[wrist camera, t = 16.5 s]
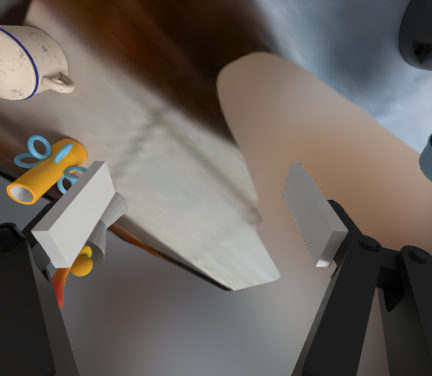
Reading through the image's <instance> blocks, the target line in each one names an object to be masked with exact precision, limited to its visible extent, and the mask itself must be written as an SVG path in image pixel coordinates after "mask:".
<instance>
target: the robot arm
mask: <svg viewBox="0 0 432 376" xmlns="http://www.w3.org/2000/svg"><path fill="white" fill-rule="evenodd" d="M399 45H400V51H401V54H402V56H403V58H404V59H405V61H406V62H407V63H408V64H409V65H411V66H413V67H415V68H418V69H423V70H429V71H432V0H411V2H410V4H409V6H408V8H407V10H406V12H405V15H404V17H403V21H402V24H401V28H400V35H399ZM419 164H420V169H421V171H422V172H423V174H424V175H425V176H426V177H427V178H428V179H429V180H430V181H431V182H432V134H431V135H430V136H429V138H428V143H427V145H426V147H425V148H424V150H423V152H422V153H421V155H420V157H419ZM114 194H115V190H114V187H113V184H112V181H111V177H110V174H109V171H108V168H107V164H106V161H94V162H93V163H92V164H91V166H90V167H89V168H88V169H87V170H86V171H85V172H84V173H83V174H82V175H81V177H80V178H79V179H78V180H77V181H76V182H75V183H74V184H73V185H72V186H71V187H70V189H69V190H68V191H67V192H66V193H65V194H64V195H63V196H62V197H61V198H60V199H55V200H54V201H52V202H50V203H49V204H47V205H46V206H45V207H44V208H43V210H41V212H39V213H38V215H37V216H36V218H34V219H33V220H32V221H31V222H30V223H29V224H28V225H27V226H26V227H25V228H24V229H23V230H22V231H20V230H19V228H18V227H17V226H16V224H15V223H2V224H0V376H79V373H78V369H77V366H76V362H75V359H74V356H73V353H72V349H71V345H70V342H69V339H68V335H67V332H66V328H65V325H64V322H63V318H62V315H61V311H60V308H59V304H58V301H57V298H56V294H55V291H54V287H53V284H52V280H51V278H50V274H49V271H48V269H47V268H46V267H47V265H48V264H49V262H50V261H51V262H52V264H53V265H54V267H55V268H70V267H71V266H72V264H73V262H74V261H75V259H76V257H77V256H78V254H79V252H80V251H81V249H82V247H83V246H84V244H85V242H86V241H87V239H88V237H89V236H90V234H91V232H92V231H93V229H94V227H95V226H96V224H97V222H98V221H99V219H100V217H101V216H102V214H103V212H104V211H105V209H106V207H107V206H108V204H109V202H110V201H111V199H112V197H113V196H114ZM283 195H284V197H285V199H286V202H287V204H288V206H289V208H290V211H291V213H292V215H293V217H294V220H295V222H296V224H297V226H298V228H299V230H300V233H301V235H302V237H303V239H304V242H305V244H306V246H307V248H308V250H309V253H310V255H311V257H312V259H313V261H314V264H315V266H316V267H330V265H331V263H332V261H333V260H334V261H335V263H336V265H337V267H336V269H335V270H334V272H333V274H332V276H331V280H330V283H329V285H328V288H327V290H326V293H325V295H324V297H323V300H322V302H321V305H320V307H319V310H318V312H317V314H316V317H315V319H314V322H313V324H312V326H311V329H310V331H309V334H308V336H307V339H306V341H305V343H304V346H303V348H302V351H301V353H300V356H299V358H298V360H297V363H296V365H295V368H294V370H293V373H292V375H291V376H356V375H357V370H358V365H359V361H360V356H361V352H362V347H363V343H364V338H365V333H366V329H367V324H368V320H369V315H370V311H371V306H372V302H373V297H374V292H375V288H376V287H377V289H378V296H379V303H380V310H381V317H382V324H383V331H384V338H385V345H386V352H387V359H388V366H389V373H390V376H432V256H431V255H430V254H429V253H427V252H426V251H424V250H422V249H420V248H418V247H415V246H410V245H408V246H404V247H402V248H401V250H400V251H396V250H392V249H387V248H383V247H382V246H381V244H380V243H379V242H377V241H376V240H375V239H373V238H371V237H369V236H366V235H363V234H362V233H361V231H360V230H359V229H358V227H357V226H356V225H355V224H354V222H353V221H352V220H351V218H349V216H348V214H347V213H345V210H344V209H343V208H342V207H341V205H340V204H338V203H337V202H335V201H334V200H326V198H325V197H324V195H323V194H322V193H321V191H320V190H319V188H318V187H317V185H316V184H315V183H314V181H313V180H312V178H311V177H310V175H309V174H308V173H307V171H306V170H305V168H304V167H303V165H302V164H301V163H290V167H289V171H288V175H287V179H286V183H285V187H284V191H283Z"/></svg>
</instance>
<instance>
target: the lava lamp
mask: <svg viewBox="0 0 432 376" xmlns="http://www.w3.org/2000/svg"><path fill="white" fill-rule="evenodd" d="M126 210H127V202H126V200H125V199H124V197H122V196H121V195H120V194H119V193H117V192H115V194H114V196H113V197H112V199H111V201H110V202H109V204H108V206H107V207H106V209H105V211H104V212H103V214H102V216H101V217H100V219H99V221H98V222H97V224H96V226H95V227H94V229H93V231H92V232H91V234H90V236H89V237H88V239H87V241H86V242H85V244H84V246H83V247H82V249H81V251H80V252H79V254H78V256H77V257H76V259H75V261H74V262H73V264H72V266H71V267H70V268H58V269H57V271H56V273H55V274H54V276H53V277H52V278H51V280H52V284H53V287H54V291H55V294H56V298H57V301H58V304H59V308H60V309H61V307H62V304H63V294H64V285H65V279H66V277H67V275H68V273H69V271H70V270H71V272H72V273H73V274H74V275H76V276H83V275H86V274H87V273H89V272H90V271H91V269H92V267H95V266H97V265H99V264H101V263H102V262H103V260H104V256H105V243H106V229H107V228H108V227H109V226H110V225H111V224H112V223H114V222H115V221H116V220H117V219H118V218H119V217H120V216H121V215H123V214H124V213H125V211H126Z"/></svg>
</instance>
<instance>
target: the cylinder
mask: <svg viewBox="0 0 432 376" xmlns="http://www.w3.org/2000/svg"><path fill="white" fill-rule="evenodd" d="M35 140H40V141H41V142H42V143H43V144H44V145H45V147H46V152H45V154H44V155H41V154H39V153H38V152H37V151H36V150H35V148H34V145H33V143H34V141H35ZM27 145H28V149H29V151H30V152H31V153H22V154H19V155H17V156H16V157H15V158H14V162H15V163H16V164H17V165H18V166H21V167H24V168H31V169H30V170H29V171H27V172H26V173H25V174H23V175H22V176H21V177H19V178H18V179H16V180H15V181H14V182H12V183H11V184H10V185H9V186H8V187H7V193H8V194H9V196H10V197H11V198H12V199H14V200H15V201H17V202H19V203H22V204H33V203H35V202H36V201H37V200H38V199H39V198H40V197H41V196H42V195H43V194H44V193H45V192H46V191H47V190H48V189H49V188H50V187H52V186H53V185H54V184H55V183H56V182H57V185H58V188H59V190H60V191H61V192H62V193H63V194H65V193H66V192H67V190H65V189H64V187H63V185H62V180H63V178H67V179H69V180H70V182H71V185H73V184H74V183H75V182H76V181H77V180H78V179H79V178H80V177H79V178H78V177H72V176H71V175H69V174H70V173H73V172H75V171H76V170H79V171H83V172H85V171H86V170H87V169H86V168H83V167H80V166H81V165H82V164H83V163H84V162H85V161H86V159H87V152H86V150H85V148H84V147H83V146H82V145H81V144H80V143H79V142H77V141H76V140H73V139H68V138H66V139H61V140H59V141H58V142H56V143H55V144H54V145H52V146H50V144H49V143H48V141H47V140H46V139H45V138H43V137H42V136H39V135H33V136H31V137H29V139H28V142H27ZM25 157H34V158H38V159H39V160H40V161H39V162H38V163H34V164H26V163H23V162H21V161H20V159H22V158H25Z"/></svg>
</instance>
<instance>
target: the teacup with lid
mask: <svg viewBox="0 0 432 376" xmlns="http://www.w3.org/2000/svg"><path fill="white" fill-rule="evenodd" d="M67 73H68V66H67V61H66V58H65V56H64V54H63V52H62V50H61V48H60V47H59V46H58V44H57V43H56V42H55V41H54V40H53V39H52V38H51V37H50V36H49V35H47V34H46V33H44V32H43V31H41V30H39V29H36V28H33V27H28V26H6V25H0V97H1V98H4V99H8V100H16V101H20V100H25V99H28V98H30V97H32V96H33V95H34V94H37V93H40V92H43V91H46V90H49V89H52V90H55V91H57V92H61V93H71V92H73V91H74V88H75V84H74V82H73V80H72V79H70V78H69V77H68V76H67ZM62 83H65V84H66V85H64V84H62Z"/></svg>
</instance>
